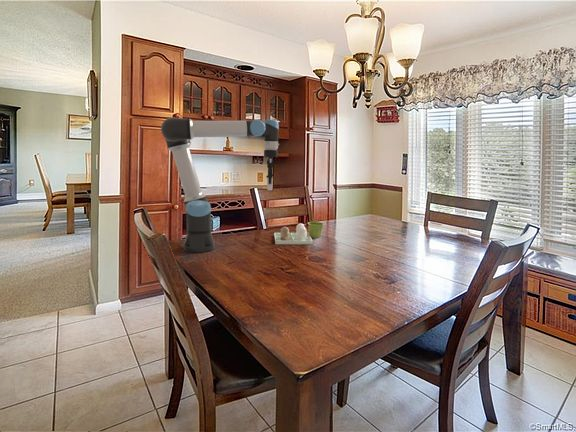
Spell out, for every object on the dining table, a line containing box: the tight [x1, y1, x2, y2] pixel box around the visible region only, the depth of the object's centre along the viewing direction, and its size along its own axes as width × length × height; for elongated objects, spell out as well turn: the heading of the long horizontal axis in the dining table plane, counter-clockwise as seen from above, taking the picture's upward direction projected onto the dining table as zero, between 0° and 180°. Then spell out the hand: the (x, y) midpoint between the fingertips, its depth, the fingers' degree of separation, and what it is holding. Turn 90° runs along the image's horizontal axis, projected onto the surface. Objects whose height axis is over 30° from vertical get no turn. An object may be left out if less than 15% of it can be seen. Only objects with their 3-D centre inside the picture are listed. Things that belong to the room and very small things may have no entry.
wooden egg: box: [280, 226, 290, 241], centre depth 185 cm, size 5×5×8 cm
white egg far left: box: [295, 223, 305, 236], centre depth 195 cm, size 5×5×8 cm
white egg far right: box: [298, 226, 308, 241], centre depth 186 cm, size 5×5×8 cm
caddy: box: [273, 232, 314, 245], centre depth 191 cm, size 20×20×3 cm
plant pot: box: [307, 221, 325, 239], centre depth 199 cm, size 9×9×9 cm
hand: (269, 189), depth 189 cm, fingers open, 13 cm apart
